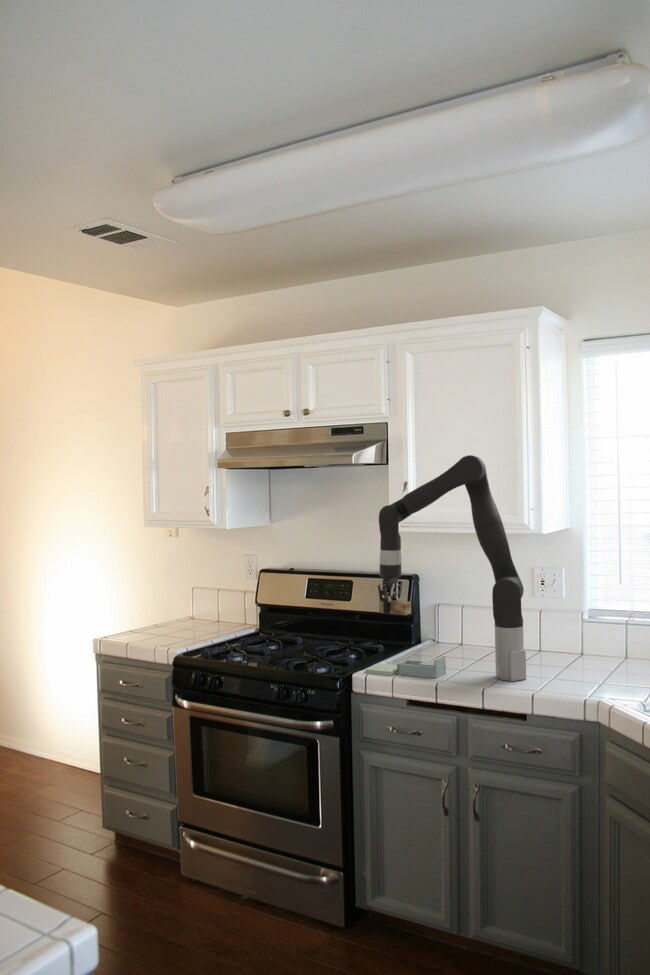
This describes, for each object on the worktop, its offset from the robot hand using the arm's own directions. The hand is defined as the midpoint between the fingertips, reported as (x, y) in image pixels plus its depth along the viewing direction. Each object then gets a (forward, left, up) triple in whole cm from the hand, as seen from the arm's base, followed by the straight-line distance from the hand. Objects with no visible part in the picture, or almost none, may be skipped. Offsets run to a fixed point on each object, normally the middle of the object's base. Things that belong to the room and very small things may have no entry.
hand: (390, 612), depth 289 cm
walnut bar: (-2, -1, 0) cm, 2 cm away
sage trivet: (+2, +2, -21) cm, 21 cm away
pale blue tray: (-9, -7, -21) cm, 23 cm away
